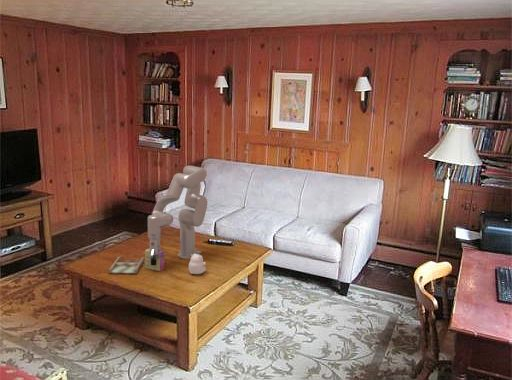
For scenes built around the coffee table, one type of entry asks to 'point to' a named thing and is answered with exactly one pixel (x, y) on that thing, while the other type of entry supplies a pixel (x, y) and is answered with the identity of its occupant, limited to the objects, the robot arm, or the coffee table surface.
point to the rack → (126, 266)
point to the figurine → (196, 264)
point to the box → (159, 260)
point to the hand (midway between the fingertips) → (154, 262)
